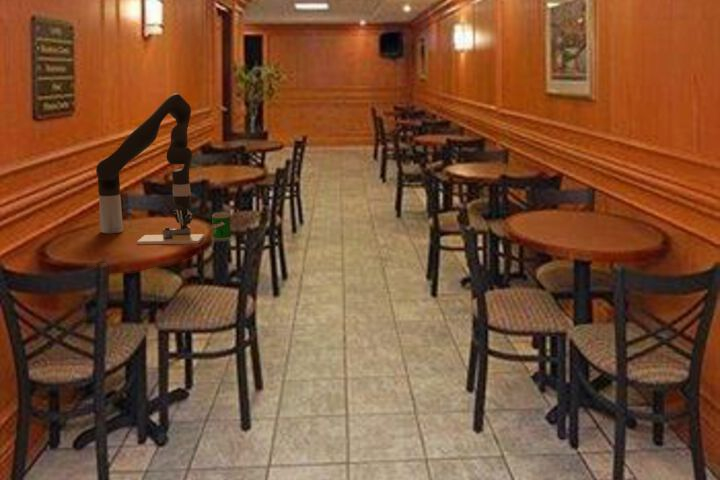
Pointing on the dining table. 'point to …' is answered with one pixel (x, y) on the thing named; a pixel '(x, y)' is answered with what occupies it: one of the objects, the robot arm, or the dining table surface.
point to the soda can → (221, 226)
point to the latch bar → (175, 232)
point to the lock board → (171, 239)
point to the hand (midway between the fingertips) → (184, 233)
